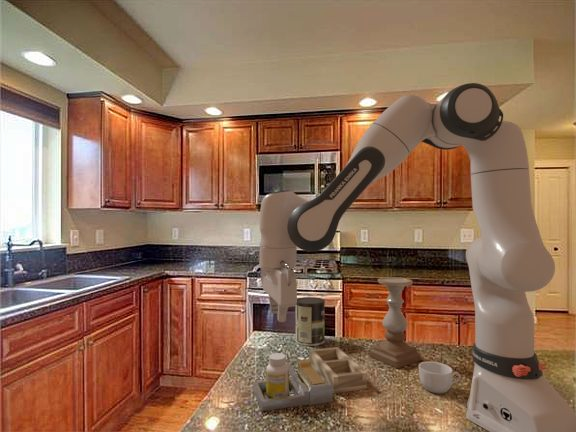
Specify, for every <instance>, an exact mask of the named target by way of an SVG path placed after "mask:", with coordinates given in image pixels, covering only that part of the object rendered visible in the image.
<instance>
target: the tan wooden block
mask: <svg viewBox="0 0 576 432" xmlns="http://www.w3.org/2000/svg"><path fill="white" fill-rule="evenodd" d="M297 376H298V377H299V379H300V380H301V382H302V383H304V384H305V385H306V387H307V388H308V389H309V386H310V385H318V384H325V382H324V380H323V379H322V378H321V377H320V376H319V374H318V373H317V372H316V371H315V370H314V368H313V367H312V366H311V362H310V360H309V358H308V359H307V358H306V359H299V360H297Z"/></svg>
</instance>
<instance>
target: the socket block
mask: <svg viewBox="0 0 576 432" xmlns="http://www.w3.org/2000/svg"><path fill="white" fill-rule="evenodd" d="M286 364H287V365H288V367H289V375H290V376H289V390H291V393H292V395H289V396H285V397H278V398H271V399H267V398H265V396H264V395H263V391H266V379H265V380H257V381H253V382H252V384H253V385H252V387H253V388H252V390H253V392H254V393H253V394H254V396H255V398H256V401H257V403H258V407H259V409H260V411H261V412H265V411H271V410H279V409H285V408H292V407H298V406H299V407H300V406H305V405H306V406H307V405H310V406H314V405H321V404H328V403H333V392H332V384H331V383H325V384H318V385H310V386H309V389H308V388H307V387H306V385H305V384H304V383H302V382H301V380H300V379H299V377H298V373H296V372H295V370H294V369H293V367H292V366H291V364H290V363H286Z"/></svg>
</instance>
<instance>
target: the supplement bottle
mask: <svg viewBox="0 0 576 432" xmlns="http://www.w3.org/2000/svg"><path fill="white" fill-rule="evenodd" d="M286 360H287V356H286V354H284V353H281V352H276V353H271V354H270V355H268V363H269V364H268V365H267V366H266V367H265V368H266V370H265V371H266V378H265V380H266V390H265V391H266V399H271V398H278V397H285V396H290V388H289V377H290V373H289V367H288V365H287V364H288V363H286V362H287V361H286Z"/></svg>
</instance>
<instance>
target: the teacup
mask: <svg viewBox="0 0 576 432" xmlns="http://www.w3.org/2000/svg"><path fill="white" fill-rule="evenodd" d="M455 375H458V378H457V379H455V380H453V377H454V376H455ZM418 376H419V381H420V384H421V385H422V386H423V388H424V389H425V390H427V391H428V392H429V393H434V394H444V393H446V392H448V391H449V389H451V386H452V385H454V384H457V383H458V382H460V381H461V379H462V377H461V374H460V373H459V372H458V371H454V370H453V368H452V367H450V366H449V365H448V364H445V363H442V362H437V361H422V362H420V363H419V364H418Z"/></svg>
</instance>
